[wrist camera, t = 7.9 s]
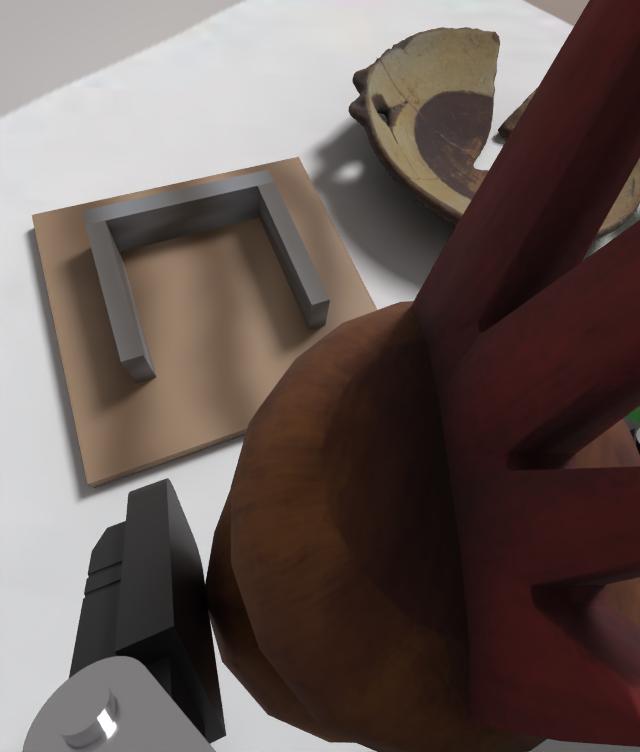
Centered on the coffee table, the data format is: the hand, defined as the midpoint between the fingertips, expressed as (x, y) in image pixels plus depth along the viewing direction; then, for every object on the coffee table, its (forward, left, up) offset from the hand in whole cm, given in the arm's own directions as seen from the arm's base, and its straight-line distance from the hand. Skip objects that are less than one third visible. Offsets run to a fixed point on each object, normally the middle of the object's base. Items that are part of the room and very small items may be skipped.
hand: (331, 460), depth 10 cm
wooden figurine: (0, -2, -6) cm, 6 cm away
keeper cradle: (0, +17, -17) cm, 24 cm away
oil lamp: (+27, +19, -18) cm, 38 cm away
